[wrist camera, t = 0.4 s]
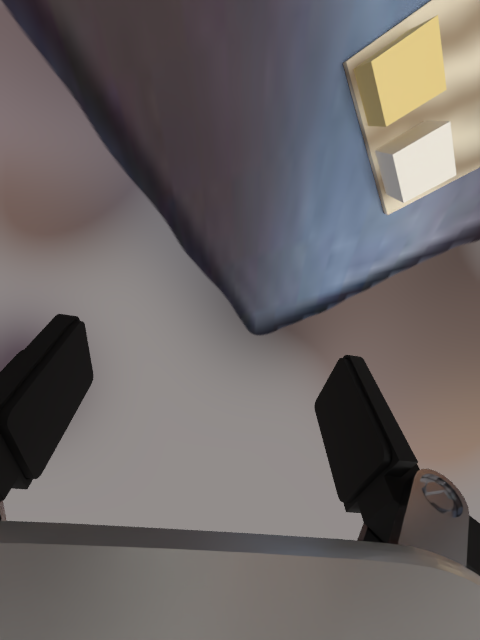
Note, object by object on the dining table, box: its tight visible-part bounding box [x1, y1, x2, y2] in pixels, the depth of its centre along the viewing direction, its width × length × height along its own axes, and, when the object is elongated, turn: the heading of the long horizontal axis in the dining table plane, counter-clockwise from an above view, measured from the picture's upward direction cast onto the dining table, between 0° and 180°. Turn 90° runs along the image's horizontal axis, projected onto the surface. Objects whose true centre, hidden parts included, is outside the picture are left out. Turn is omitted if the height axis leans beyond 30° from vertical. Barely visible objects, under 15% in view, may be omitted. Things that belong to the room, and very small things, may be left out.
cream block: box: [375, 121, 456, 203], centre depth 34 cm, size 6×6×5 cm
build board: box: [343, 0, 480, 215], centre depth 30 cm, size 19×20×6 cm
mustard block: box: [354, 15, 447, 127], centre depth 29 cm, size 6×6×5 cm
